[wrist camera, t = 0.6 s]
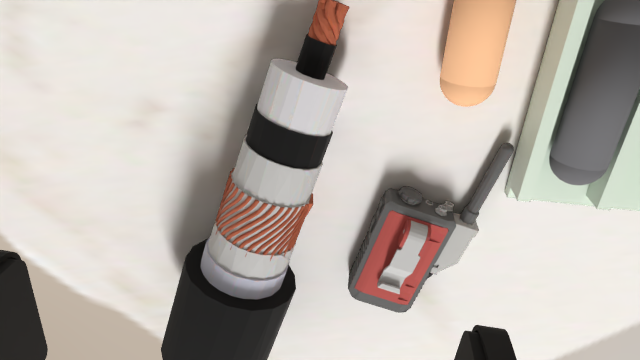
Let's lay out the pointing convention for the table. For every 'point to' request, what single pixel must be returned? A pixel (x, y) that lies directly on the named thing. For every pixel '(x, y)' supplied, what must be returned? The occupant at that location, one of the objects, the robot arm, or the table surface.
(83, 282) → the table surface
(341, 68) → the table surface
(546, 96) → the rack
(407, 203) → the walkie-talkie
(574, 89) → the gray pill-shaped rod
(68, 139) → the table surface
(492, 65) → the tan capsule
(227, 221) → the cable
